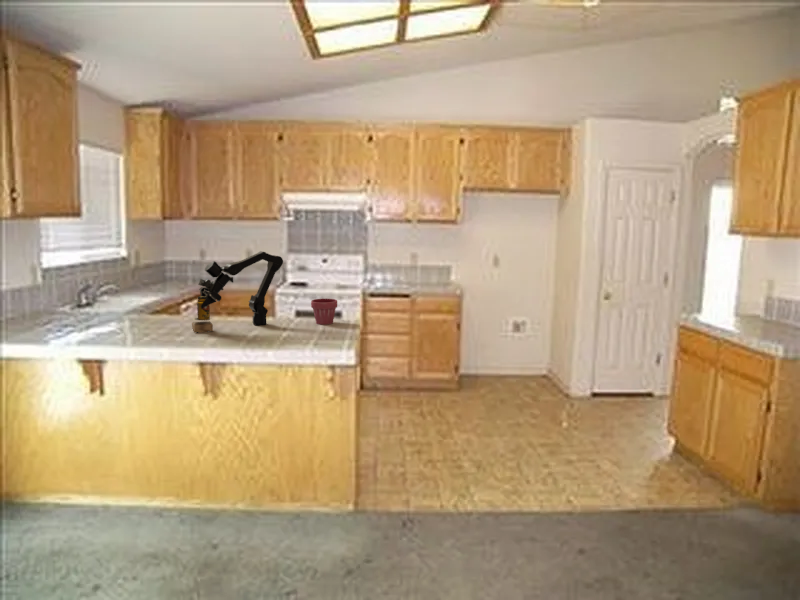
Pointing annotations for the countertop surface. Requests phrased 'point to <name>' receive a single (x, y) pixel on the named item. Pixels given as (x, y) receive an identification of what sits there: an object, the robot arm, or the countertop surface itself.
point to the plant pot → (324, 310)
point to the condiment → (202, 309)
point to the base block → (202, 326)
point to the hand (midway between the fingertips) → (199, 306)
